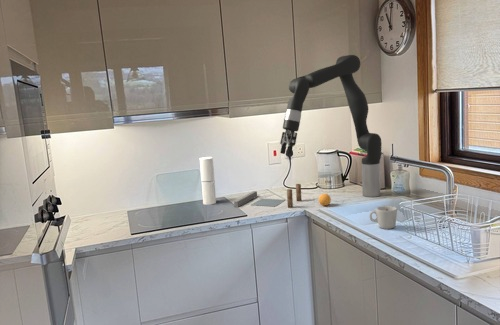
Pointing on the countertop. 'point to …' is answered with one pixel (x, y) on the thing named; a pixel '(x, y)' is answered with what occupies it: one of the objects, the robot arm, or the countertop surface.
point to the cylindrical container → (207, 180)
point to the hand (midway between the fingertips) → (285, 153)
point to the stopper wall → (245, 199)
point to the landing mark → (268, 202)
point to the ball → (324, 199)
